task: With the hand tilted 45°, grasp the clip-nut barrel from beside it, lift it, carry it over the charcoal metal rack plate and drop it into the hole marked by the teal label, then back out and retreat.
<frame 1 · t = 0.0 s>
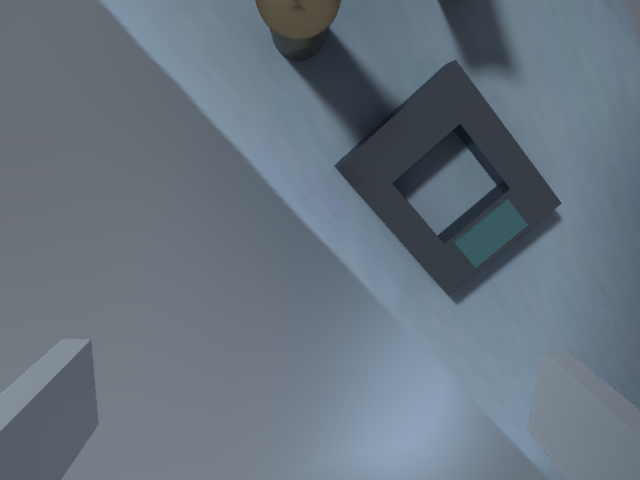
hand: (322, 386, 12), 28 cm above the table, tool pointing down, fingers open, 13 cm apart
rack plate: (442, 182, 39), on the table
clip-nut barrel: (298, 32, 35), on the table
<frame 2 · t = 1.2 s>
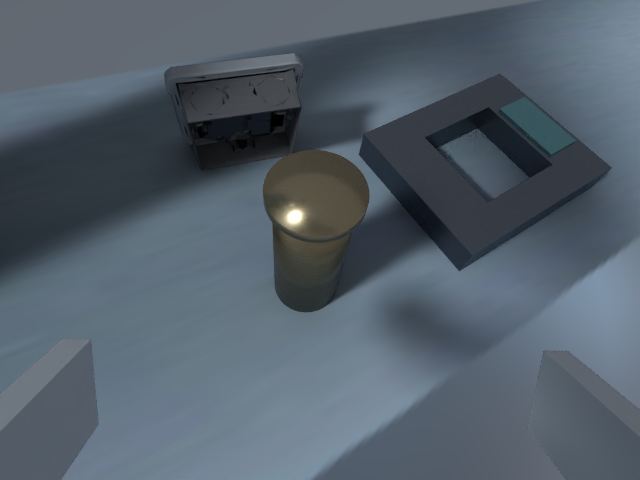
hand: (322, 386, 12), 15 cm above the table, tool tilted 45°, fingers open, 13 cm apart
rack plate: (476, 170, 37), on the table
electrical switch: (247, 154, 36), on the table
clip-nut barrel: (305, 282, 30), on the table
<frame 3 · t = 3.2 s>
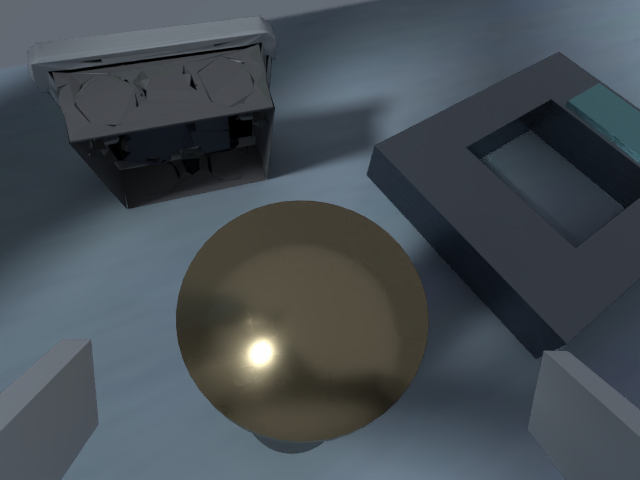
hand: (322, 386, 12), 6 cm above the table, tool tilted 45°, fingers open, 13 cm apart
rack plate: (537, 192, 25), on the table
electrical switch: (200, 181, 24), on the table
clip-nut barrel: (293, 396, 18), on the table
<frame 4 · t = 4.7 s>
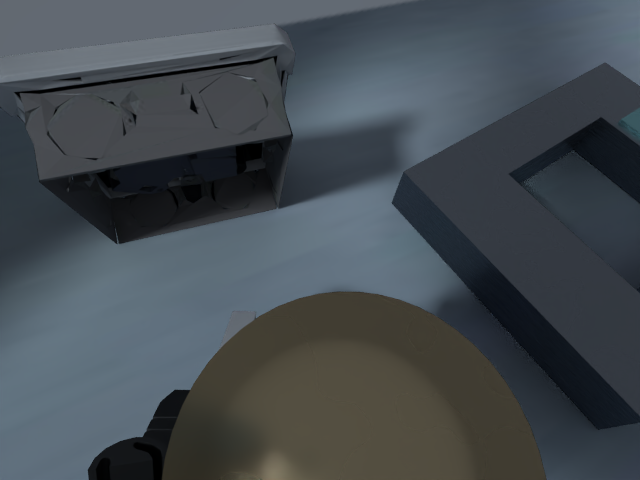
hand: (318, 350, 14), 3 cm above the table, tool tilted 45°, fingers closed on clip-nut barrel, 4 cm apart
rack plate: (586, 223, 22), on the table
electrical switch: (202, 210, 21), on the table
clip-nut barrel: (311, 479, 15), on the table, touching gripper
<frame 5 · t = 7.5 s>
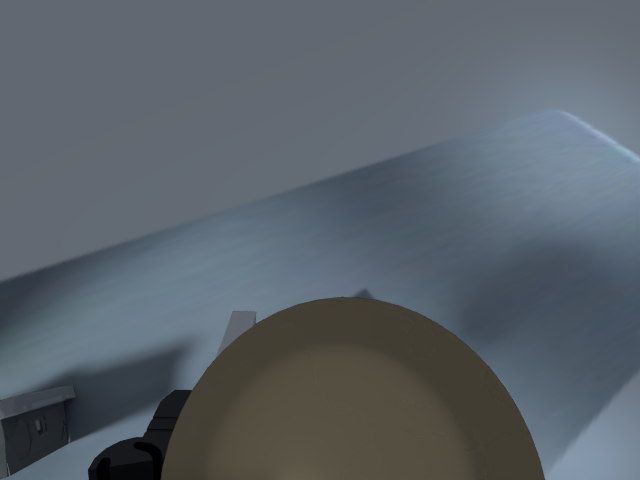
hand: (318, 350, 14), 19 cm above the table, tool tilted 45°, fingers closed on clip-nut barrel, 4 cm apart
electrical switch: (11, 446, 28), on the table
when the fingers open (6 cm above the table, at t = 10.6 s): clip-nut barrel drops 3 cm, resting in rack plate.
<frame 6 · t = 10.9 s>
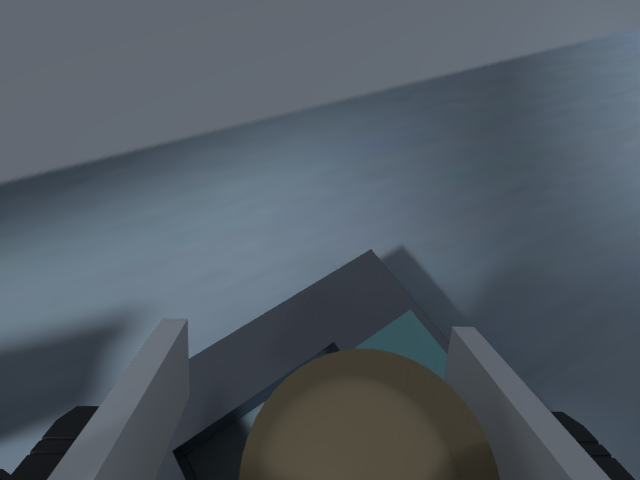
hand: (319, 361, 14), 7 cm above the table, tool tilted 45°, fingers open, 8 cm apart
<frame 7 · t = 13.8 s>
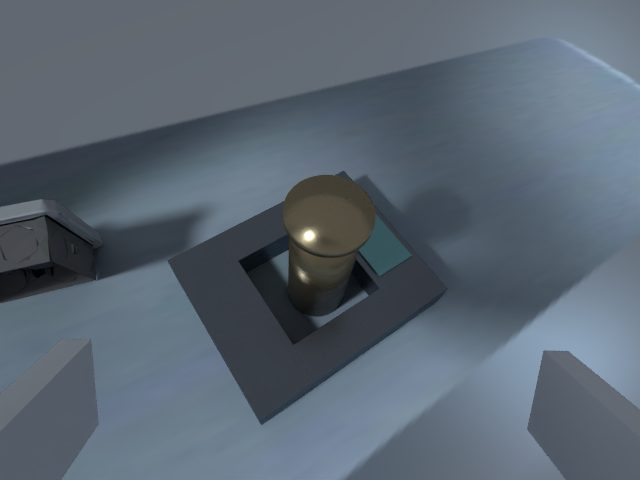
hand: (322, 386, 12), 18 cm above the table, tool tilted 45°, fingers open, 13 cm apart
rack plate: (307, 288, 33), on the table
electrical switch: (46, 281, 32), on the table
clip-nut barrel: (315, 289, 33), resting in rack plate
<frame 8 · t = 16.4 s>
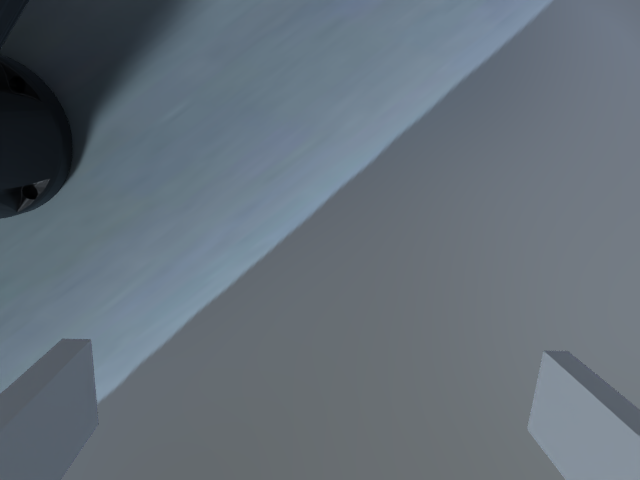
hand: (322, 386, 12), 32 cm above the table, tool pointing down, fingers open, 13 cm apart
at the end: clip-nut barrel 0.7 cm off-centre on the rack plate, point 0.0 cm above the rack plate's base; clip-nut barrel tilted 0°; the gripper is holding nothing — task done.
